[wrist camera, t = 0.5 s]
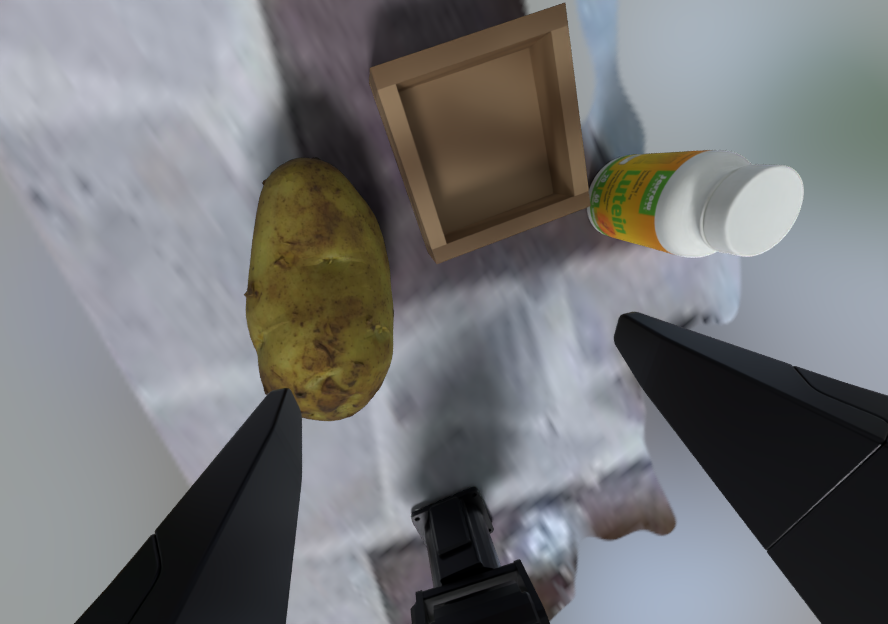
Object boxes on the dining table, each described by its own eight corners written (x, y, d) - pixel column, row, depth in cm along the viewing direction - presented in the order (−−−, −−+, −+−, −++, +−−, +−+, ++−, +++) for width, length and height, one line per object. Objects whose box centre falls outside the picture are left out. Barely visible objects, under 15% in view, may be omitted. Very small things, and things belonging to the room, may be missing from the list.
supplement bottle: (585, 160, 23) (726, 154, 14) (658, 149, 23) (835, 138, 15) (582, 241, 25) (702, 281, 16) (648, 230, 26) (798, 261, 17)
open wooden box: (563, 201, 23) (590, 206, 20) (428, 252, 23) (436, 264, 20) (535, 26, 19) (565, 2, 16) (369, 83, 19) (369, 67, 16)
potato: (426, 194, 21) (457, 208, 14) (373, 371, 25) (376, 453, 18) (282, 145, 19) (231, 130, 12) (248, 349, 23) (193, 434, 15)
